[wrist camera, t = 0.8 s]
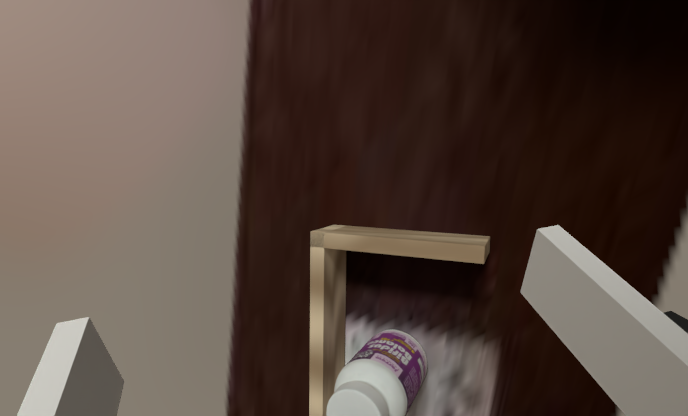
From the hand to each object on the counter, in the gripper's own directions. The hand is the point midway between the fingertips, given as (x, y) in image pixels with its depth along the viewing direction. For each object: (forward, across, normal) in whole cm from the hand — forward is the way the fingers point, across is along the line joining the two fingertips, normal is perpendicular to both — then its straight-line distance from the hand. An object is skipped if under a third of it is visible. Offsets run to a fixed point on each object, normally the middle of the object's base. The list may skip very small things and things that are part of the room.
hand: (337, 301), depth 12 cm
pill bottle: (+12, +7, -21) cm, 26 cm away
